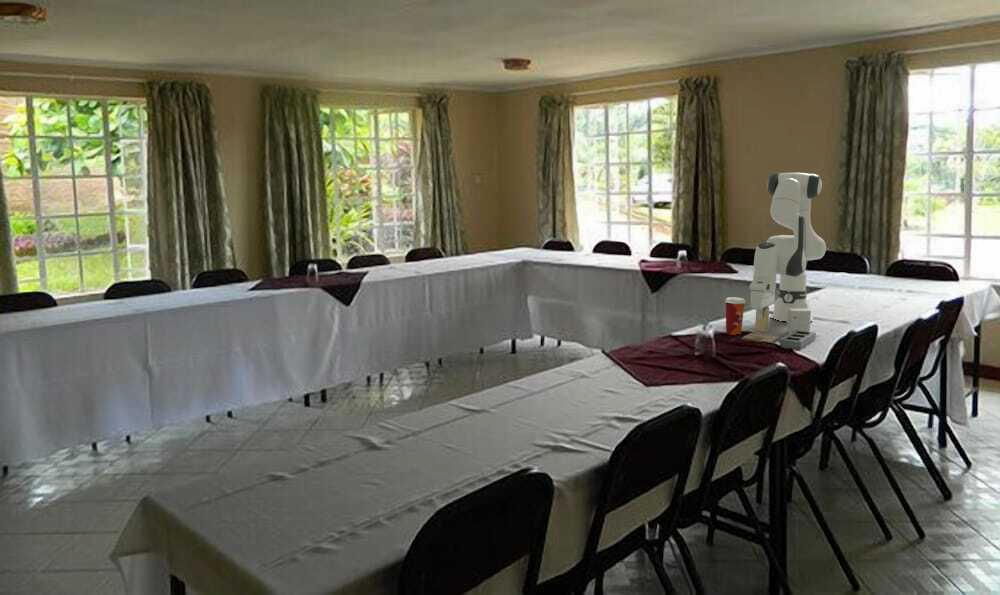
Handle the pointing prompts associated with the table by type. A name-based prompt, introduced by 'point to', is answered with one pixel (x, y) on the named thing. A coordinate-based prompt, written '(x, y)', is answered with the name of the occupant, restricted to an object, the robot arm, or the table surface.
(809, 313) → the small box
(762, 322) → the peg
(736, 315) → the coffee cup
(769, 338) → the pad
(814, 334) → the grey slotted block
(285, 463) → the table surface
